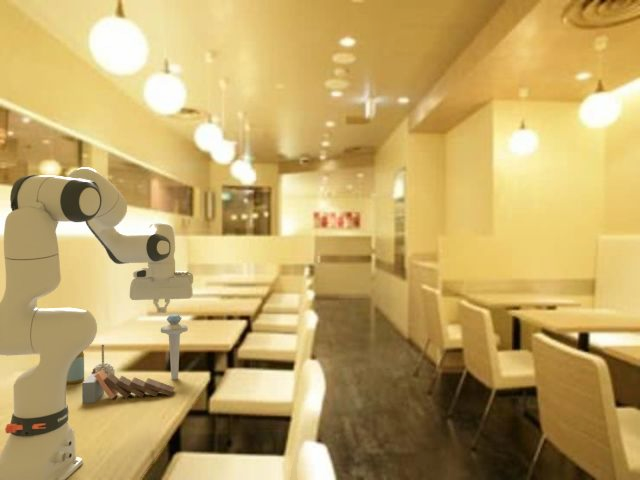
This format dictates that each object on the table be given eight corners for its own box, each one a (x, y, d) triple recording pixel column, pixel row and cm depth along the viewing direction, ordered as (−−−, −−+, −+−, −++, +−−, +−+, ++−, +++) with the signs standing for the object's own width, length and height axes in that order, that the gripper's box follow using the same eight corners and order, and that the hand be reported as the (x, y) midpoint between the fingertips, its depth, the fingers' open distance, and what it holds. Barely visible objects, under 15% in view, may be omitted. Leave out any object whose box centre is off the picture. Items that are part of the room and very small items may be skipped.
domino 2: (132, 390, 171) (110, 372, 170) (129, 395, 166) (106, 376, 165) (129, 393, 171) (107, 376, 169) (126, 398, 166) (103, 380, 165)
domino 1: (118, 392, 170) (102, 369, 169) (114, 396, 165) (98, 373, 164) (114, 394, 170) (98, 371, 169) (110, 399, 165) (94, 375, 164)
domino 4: (160, 388, 172) (134, 377, 171) (158, 392, 167) (131, 381, 166) (158, 392, 172) (132, 381, 171) (156, 397, 167) (128, 385, 166)
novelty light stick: (187, 373, 194) (186, 312, 194) (188, 381, 185) (187, 316, 184) (161, 376, 191) (160, 313, 191) (161, 383, 182) (160, 318, 181)
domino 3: (147, 389, 172) (121, 375, 170) (144, 393, 167) (118, 379, 165) (144, 393, 171) (119, 379, 170) (141, 397, 167) (115, 384, 165)
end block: (95, 402, 162) (94, 382, 162) (82, 403, 161) (82, 382, 161) (103, 393, 172) (103, 373, 172) (91, 393, 171) (91, 374, 171)
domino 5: (174, 387, 173) (148, 377, 172) (172, 391, 168) (145, 382, 167) (173, 391, 173) (146, 382, 172) (170, 396, 168) (143, 386, 167)
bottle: (81, 377, 190) (81, 340, 190) (86, 381, 185) (85, 343, 184) (62, 381, 186) (61, 342, 185) (66, 385, 180) (65, 345, 180)
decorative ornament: (87, 386, 180) (86, 346, 179) (102, 380, 187) (102, 341, 187) (103, 388, 177) (103, 347, 177) (118, 381, 185) (118, 343, 184)
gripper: (194, 270, 167) (194, 310, 167) (132, 271, 164) (133, 312, 164) (191, 271, 161) (192, 312, 161) (128, 272, 158) (128, 314, 158)
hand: (161, 312), depth 162 cm, fingers closed
